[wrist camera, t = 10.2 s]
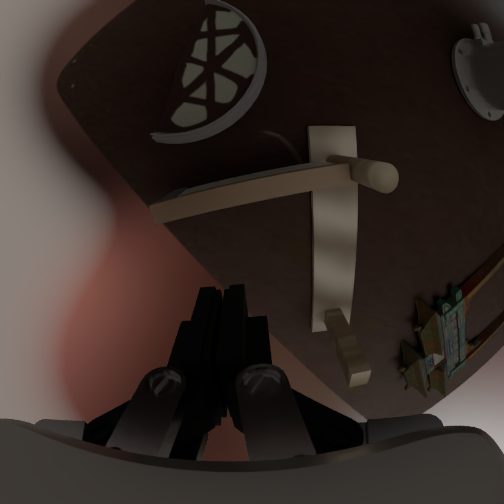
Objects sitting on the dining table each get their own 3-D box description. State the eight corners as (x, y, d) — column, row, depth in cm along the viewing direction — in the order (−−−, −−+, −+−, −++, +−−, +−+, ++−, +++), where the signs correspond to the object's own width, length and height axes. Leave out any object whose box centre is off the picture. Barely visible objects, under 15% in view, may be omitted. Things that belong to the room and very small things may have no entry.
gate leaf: (324, 158, 25) (348, 163, 19) (326, 174, 26) (351, 183, 19) (171, 190, 26) (149, 205, 20) (175, 206, 27) (154, 225, 20)
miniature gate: (516, 327, 34) (417, 418, 38) (502, 316, 40) (405, 400, 43) (522, 224, 26) (393, 346, 29) (499, 215, 31) (375, 322, 34)
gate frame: (306, 126, 25) (348, 114, 14) (352, 126, 25) (414, 121, 14) (311, 328, 34) (332, 397, 23) (347, 323, 34) (378, 387, 23)
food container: (239, 158, 26) (235, 164, 17) (181, 142, 25) (147, 142, 16) (276, 52, 22) (291, 10, 13) (219, 37, 21) (207, -9, 12)
